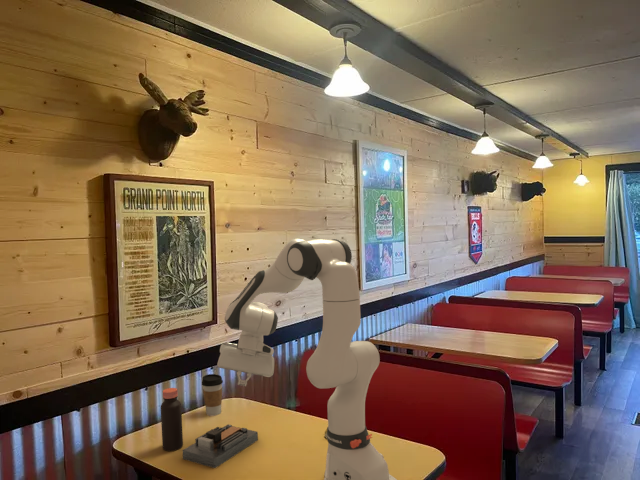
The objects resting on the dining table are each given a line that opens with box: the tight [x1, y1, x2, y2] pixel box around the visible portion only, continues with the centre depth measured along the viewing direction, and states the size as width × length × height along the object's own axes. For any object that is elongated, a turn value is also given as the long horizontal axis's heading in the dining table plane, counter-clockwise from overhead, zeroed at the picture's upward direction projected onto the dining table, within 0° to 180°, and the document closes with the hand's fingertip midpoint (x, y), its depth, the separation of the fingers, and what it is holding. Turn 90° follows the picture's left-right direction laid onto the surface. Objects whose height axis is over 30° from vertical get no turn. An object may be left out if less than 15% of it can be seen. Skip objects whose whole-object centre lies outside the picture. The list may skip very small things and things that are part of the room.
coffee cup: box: [201, 373, 224, 417], centre depth 199 cm, size 8×8×15 cm
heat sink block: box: [182, 423, 259, 469], centre depth 166 cm, size 22×14×6 cm, turn 150°
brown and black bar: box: [205, 425, 243, 448], centre depth 167 cm, size 4×4×15 cm
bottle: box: [160, 387, 184, 452], centre depth 169 cm, size 7×7×20 cm
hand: (241, 385), depth 172 cm, fingers closed
